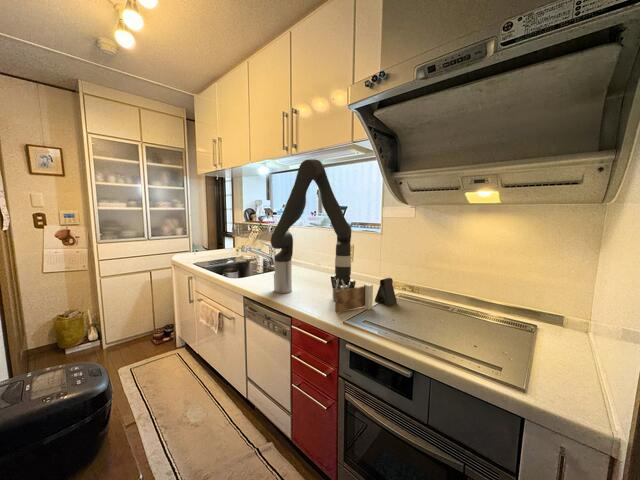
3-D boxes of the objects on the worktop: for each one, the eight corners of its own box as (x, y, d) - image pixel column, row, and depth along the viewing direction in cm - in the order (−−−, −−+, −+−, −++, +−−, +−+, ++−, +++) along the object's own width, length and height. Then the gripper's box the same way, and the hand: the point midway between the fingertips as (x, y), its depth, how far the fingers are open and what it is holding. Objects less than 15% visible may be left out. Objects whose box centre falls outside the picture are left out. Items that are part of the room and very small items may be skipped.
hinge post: (364, 308, 118) (365, 285, 117) (368, 306, 120) (369, 283, 119) (368, 309, 117) (369, 286, 115) (372, 307, 119) (372, 284, 117)
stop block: (333, 301, 123) (333, 289, 122) (342, 298, 128) (343, 286, 127) (341, 304, 120) (341, 291, 119) (350, 300, 125) (351, 288, 124)
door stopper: (374, 301, 127) (375, 277, 126) (382, 298, 131) (383, 275, 130) (389, 306, 120) (390, 281, 119) (397, 304, 124) (398, 279, 122)
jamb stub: (332, 297, 132) (332, 282, 131) (335, 296, 134) (335, 281, 133) (336, 298, 131) (336, 283, 130) (339, 297, 132) (339, 282, 131)
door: (338, 314, 110) (338, 291, 109) (335, 312, 113) (335, 289, 111) (368, 306, 119) (368, 285, 117) (364, 305, 121) (365, 284, 120)
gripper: (326, 263, 124) (326, 297, 126) (350, 268, 114) (349, 305, 116) (336, 261, 129) (336, 293, 131) (360, 265, 119) (359, 301, 121)
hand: (342, 299), depth 124 cm, fingers closed on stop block, 5 cm apart
